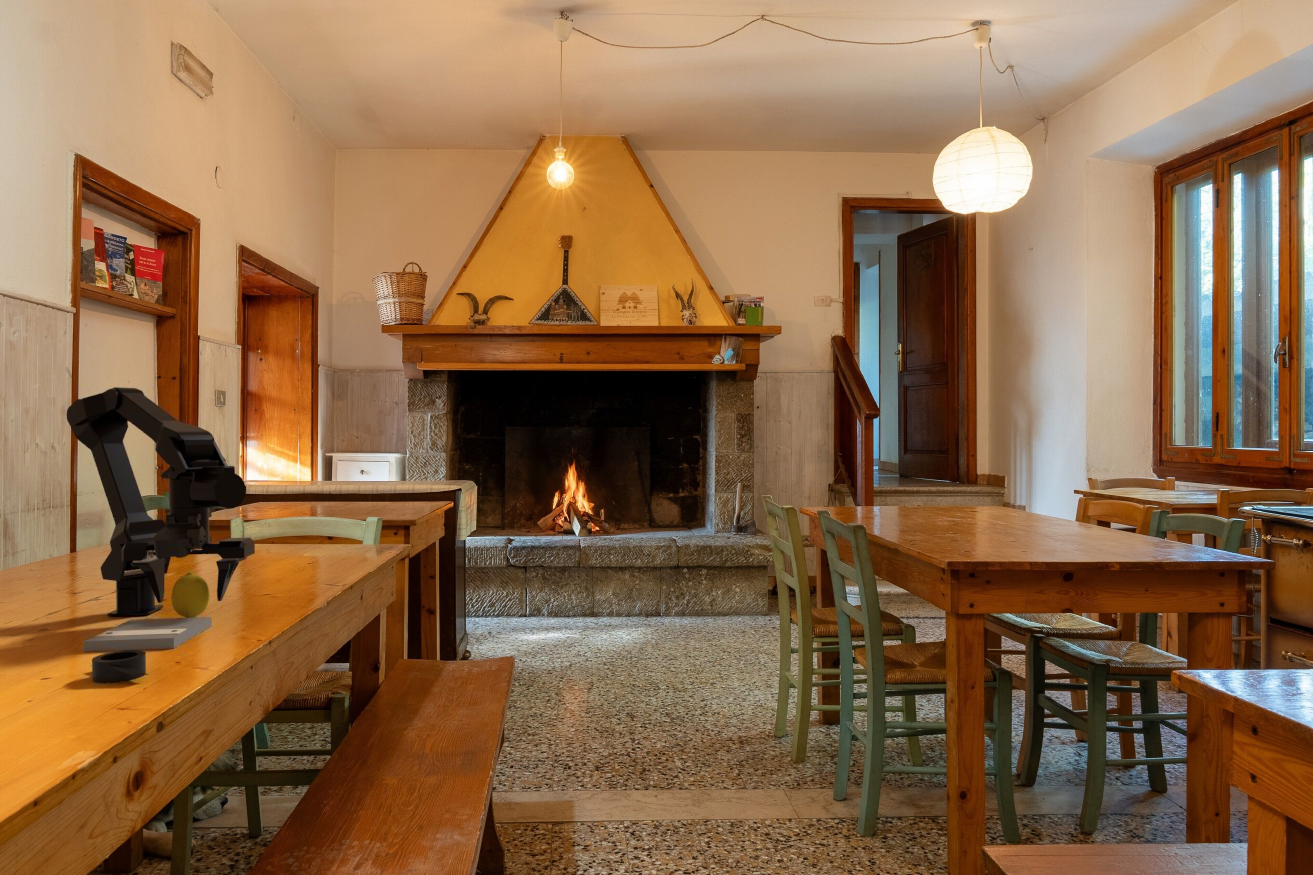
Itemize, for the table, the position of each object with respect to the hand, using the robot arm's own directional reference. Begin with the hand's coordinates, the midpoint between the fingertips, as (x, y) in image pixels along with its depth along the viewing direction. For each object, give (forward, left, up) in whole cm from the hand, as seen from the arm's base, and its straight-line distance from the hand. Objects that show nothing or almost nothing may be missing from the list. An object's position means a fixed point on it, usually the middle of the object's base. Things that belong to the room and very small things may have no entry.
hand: (190, 601), depth 143 cm
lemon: (0, 0, -3) cm, 3 cm away
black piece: (+33, +4, -4) cm, 33 cm away
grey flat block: (+12, -1, -3) cm, 12 cm away
